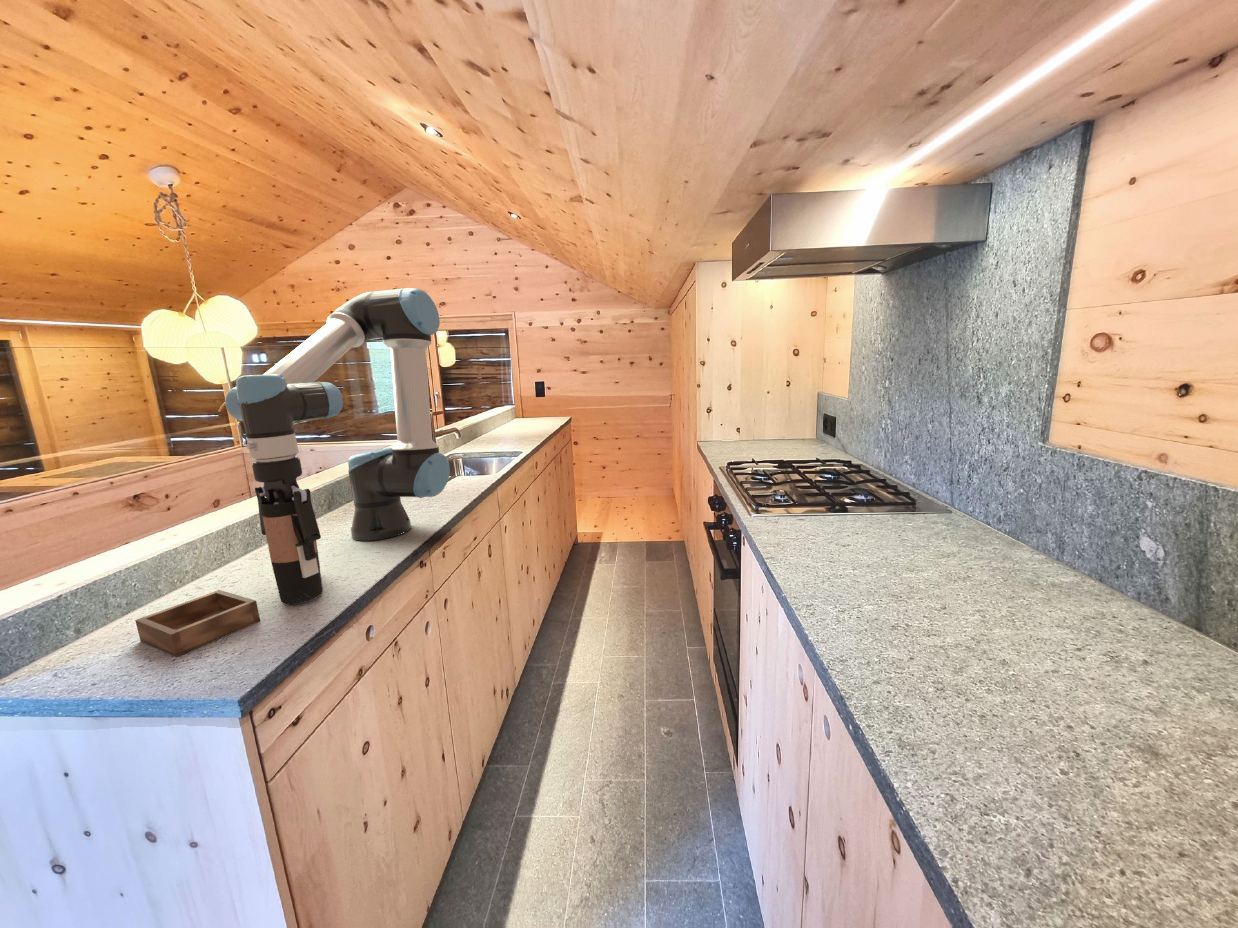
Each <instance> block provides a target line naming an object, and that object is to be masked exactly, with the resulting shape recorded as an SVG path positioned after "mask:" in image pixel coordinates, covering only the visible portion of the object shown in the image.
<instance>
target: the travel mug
mask: <svg viewBox="0 0 1238 928" xmlns="http://www.w3.org/2000/svg"><path fill="white" fill-rule="evenodd" d="M260 506H261V511H262V517H263V522H264V527H265V532H266V535H265V536H266V541H267V542H266V543H267V546H268V547H267V548H268V553H269V557H270V562H271V567H272V570H273V575H274V579H275V583H276V587H277V590H278V591H277V592H278V595H279V598H280V602H281V604H284V605H286V606H287V605H298V604H303V603H307V602H310V601H312V600H315V599H316V598H318V597H320V596H321V595H322V594H323V593H324V592H323V582H322V575H321V566H320V567H319V563H320V559H319V560H318V556H319V552H318V553H317V549H318V546H317V547H316V542H317V541H316V542H315V541H314V548H315V554H316V560H317V565H318V571H319V573H316V574H314V575H311V576H309V577H306V578H303V577H302V572H301V566H300V561H299V556H298V551H297V546H296V545H295V544H297V543H299V542H298V539H297V537H296V535H295V532H294V529H293V524H292V519H291V515H294V516H297V513H296V509H295V505H294V501H293V502H287V503H282V504H279V503H278V502H275V503H274V504H273V505H266V500H264V501H262V502H261V503H260ZM303 538H304V537H303Z"/></svg>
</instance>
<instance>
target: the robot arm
mask: <svg viewBox="0 0 1238 928" xmlns="http://www.w3.org/2000/svg"><path fill="white" fill-rule="evenodd" d="M440 321H441V320H440V314H439V310H438V308H437V306H436V304H435V302H434V300H433V299H432V298H431V296H430V295H429V294H428V292H426V291H425V290H423V289H421V288H415V287H413V288H412V287H411V288H407V287H401V288H396V289H388V290H378V291H376V290H375V291H369V292H364V293H362V294H359V295H357V296H355V297H353V298H352V299H350V300H348V301H347V302H345V303H344V304H343V305H341V306H340V307H338V308H336V309H335V310H334V311H333V312H332V313H331V314H329V315H328V316H327V318H326V324H324V325H323V326H322V327H320V328H319V329H318V330H316V332H314V333H313V334H312V335H311V336H309V337H308V338H307V339H305V341H303V342H302V343H301V344H299V345H298V346H297V347H295V349H293V350H292V351H291V352H290V353H288V354H287V355H286V356H285V357H283V358H282V359H280V360H279V361H278V362H277V363H276V364H275V365H273V366H272V367H271V368H270V369H268V370H267V371H266V372H264V373H263V374H252V375H242V376H239V377H238V378H237V379H236V381H235V383H236V385H235V387H232V388H231V389H230V390H229V391H228V392H227V393H226V395H225V397H224V404H225V407H226V410H227V412H228V414H230V416H232V417H233V418H234V419H236V420H238V421H242V423H243V427H244V428H243V429H244V432H245V436H246V441H247V444H246V446H245V447H246V448H247V449H248V450H249V451H248V452H249V456H250V459H252V460H255V461H253V462H252V463H251V468H252V472H253V477H254V480H255V481H256V482H258V483H263V485H260V486H256V487H254V492H255V495H256V498H257V505H258V514H259V522H260V523H259V524H260V531H261V535H263V536H266V532H265V527H264V522H263V517H262V511H261V506H260V503H261V502H262V501H264V500H266V505H273V504H274V503H275V502H278V503H279V504H282V503H287V502H293V501H294V505H295V509H296V513H297V516H294V515H291V519H292V524H293V529H294V532H295V535H296V537H297V539H298V542H299V543H297V544H295V545H296V546H297V551H298V556H299V561H300V566H301V572H302V577H303V578H306V577H309V576H311V575H314V574H316V573H319V571H318V565H317V560H316V554H315V548H314V541H316V542H317V541H318V540H321V537H322V536H321V533H320V532H321V531H320V528H319V525H318V521H317V518H316V514H315V511H314V506H313V504H312V497H311V490H310V488H305V489H302V488H300V486H299V484H298V482H297V479H298V478H299V477H300V476H301V475H302V474H303V469H302V463H301V458H300V457H299V456H297V455H298V454H299V446H298V441H297V436H296V430H295V424H296V423H301V422H308V421H315V420H326V419H329V418H333V417H335V416H338V415H339V413H340V412H341V411H342V409H343V405H344V401H343V400H344V399H343V395H342V392H341V390H340V389H339V388H338V387H337V386H336V385H334V384H333V383H332V382H327V381H317V380H318V379H319V378H320V377H321V376H323V374H325V373H326V371H328V370H329V369H330V368H331V367H332V366H333V365H335V364H336V362H338V361H339V360H340V359H341V358H342V357H343V356H344V355H345V354H347V353H348V351H350V350H351V349H352V348H359V347H360V346H362V345H363V344H364V343H365V342H368V341H370V340H371V341H372V340H375V339H381V338H382V342H383V344H385V346H387V347H388V348H389V350H390V363H391V365H390V366H391V375H392V389H393V399H394V400H393V401H394V413H395V423H396V424H395V425H396V437H397V442H396V444H395V445H394V446H392V447H388V448H387V447H386V448H382V449H376V450H375V449H374V450H370V451H365V452H362V453H357V454H353V455H351V456H350V457H349V458H348V460H347V465H348V471H347V472H348V476H349V481H350V488H351V494H352V501H353V505H354V506H353V507H354V511H353V512H354V513H353V516H352V517H353V518H352V524H351V527H350V534H351V538H352V539H353V540H355V541H363V542H364V541H365V542H366V541H368V542H369V541H372V542H373V541H379V540H380V541H381V540H385V538H386V539H390V538H393V537H392V536H394V537H397V536H396V535H398V534H400V535H402V534H401V533H403V532H405V533H407V532H409V531H410V530H411V529H412V525H411V520H410V517H409V515H408V514H407V511H406V510H405V508H404V506H403V504H402V500H401V498H402V497H403V498H419V499H423V498H432V497H436V496H437V495H439V494H441V493H442V492H443V491H444V490H445V488H446V486H447V484H448V482H449V478H450V471H451V469H450V468H451V467H450V462H449V460H448V458H447V456H446V455H444V454H443V453H440V449H439V448H440V445H438V444H437V443H436V442H435V441H434V440H433V435H432V434H433V433H432V432H433V431H432V419H431V406H430V405H431V403H430V390H429V389H430V388H429V380H428V379H429V377H428V374H429V373H428V363H427V349H428V348H429V347H430V345H431V344H432V335H435V334H436V333H437V332H438V330H439V327H440ZM410 528H411V529H410ZM409 529H410V530H409ZM406 531H407V532H406ZM403 534H404V533H403ZM398 536H399V535H398ZM303 537H304V538H303ZM389 537H390V538H389Z"/></svg>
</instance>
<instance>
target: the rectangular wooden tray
mask: <svg viewBox="0 0 1238 928" xmlns="http://www.w3.org/2000/svg"><path fill="white" fill-rule="evenodd" d="M260 621H261V619H260V612H259V607H258V603H257V600H256V599H252V598H248V597H245V596H242V595H239V594H235V593H232V592H227V591H225V590H222V589H221V590H220V589H218V590H216V591H212V592H209V593H207V594H205V595H201V596H198V597H196V598H192V599H190V600H188V601H184V602H182V603H179V604H175V605H173V606H171V607H167V608H165V609H162V610H160V611H157V612H154V613H152V614H148V615H146V616H143V617H140V618H137V619H135V620H134V622H135V625H136V629H137V632H138V636H139V640H140V642H141V643H143V644H145V645H147V646H150V647H152V648H155V649H157V650H159V651H161V652H164V653H166V654H169V655H170V656H173V657H175V658H178V657H180V656H183V655H185V654H187V653H190V652H192V651H195V650H197V649H199V648H202V647H203V646H207V645H209V644H212V643H213V642H215V641H217V640H220V639H222V638H225V637H226V636H228V635H231V634H233V633H236V632H239V631H240V630H242V629H245V628H248V627H250V626H252V625H254V624H256V623H258V622H260Z"/></svg>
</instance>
